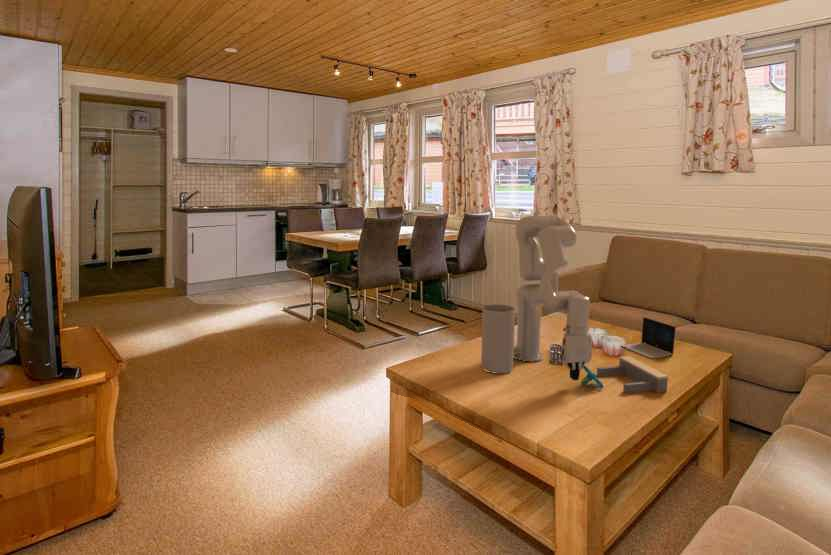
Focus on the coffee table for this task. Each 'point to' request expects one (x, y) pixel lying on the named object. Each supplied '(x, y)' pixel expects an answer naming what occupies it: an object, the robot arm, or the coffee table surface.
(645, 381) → the gear bay
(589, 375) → the gear
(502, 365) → the cylinder vase
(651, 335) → the laptop
